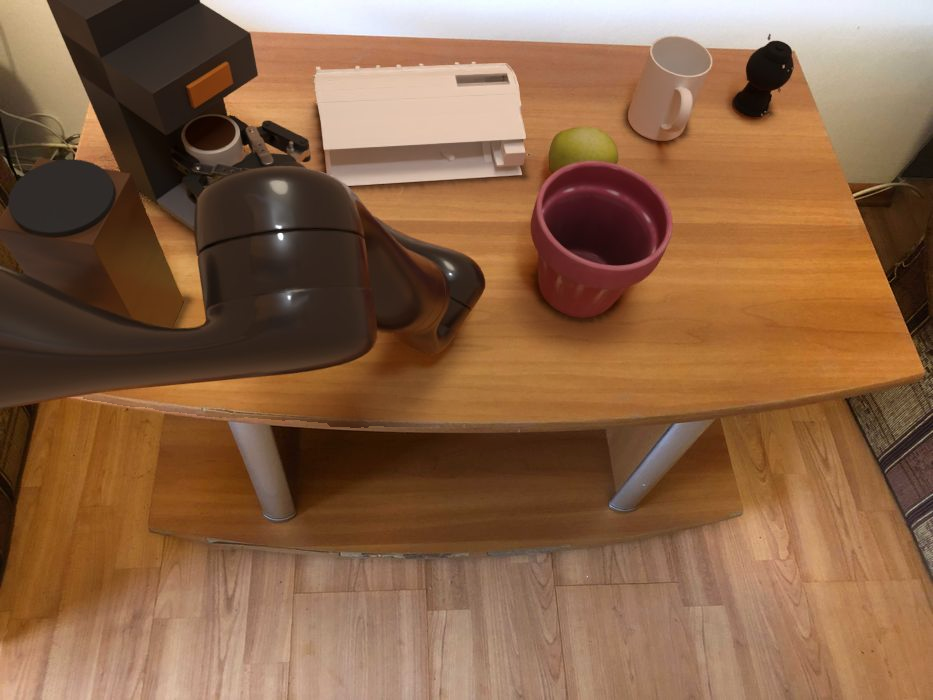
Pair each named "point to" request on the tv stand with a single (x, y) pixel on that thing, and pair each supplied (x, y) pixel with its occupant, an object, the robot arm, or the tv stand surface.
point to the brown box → (104, 259)
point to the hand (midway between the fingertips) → (198, 137)
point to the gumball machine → (764, 78)
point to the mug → (669, 87)
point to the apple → (581, 147)
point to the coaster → (62, 198)
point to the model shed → (420, 122)
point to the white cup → (213, 140)
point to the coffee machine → (154, 80)
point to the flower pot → (597, 235)
